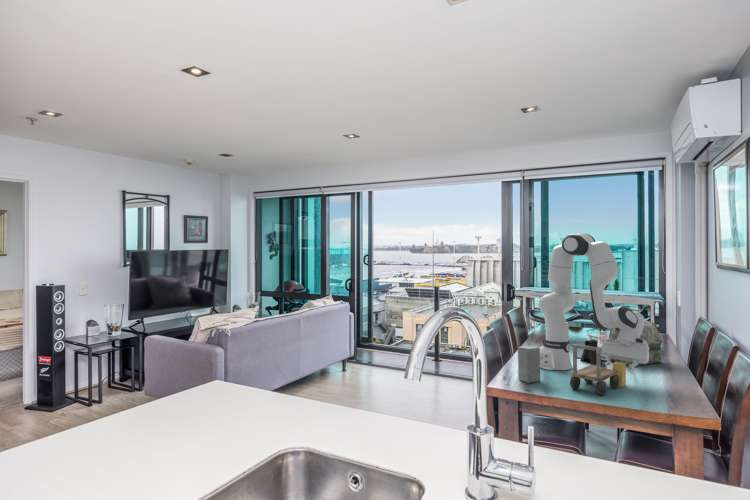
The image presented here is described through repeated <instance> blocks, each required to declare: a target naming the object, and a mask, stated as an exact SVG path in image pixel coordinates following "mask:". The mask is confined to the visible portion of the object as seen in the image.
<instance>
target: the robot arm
mask: <svg viewBox="0 0 750 500" xmlns="http://www.w3.org/2000/svg"><path fill="white" fill-rule="evenodd" d="M577 256H578V257H579V256H585V257H586V258H587V259H588V261H589V264H590V268H591V278H590V280H589V292H590V297H591V298H590V299H591V306H592V320H593V323H594V325H595V326H596V327H597V328H598V329H599V330H601V331H607V330H609V331H610V330H611V329H612V328H619V329H620V332H619V335H618V338H617V340H610V339H609V338H607V339H604V340H603V341H602V344H601V346H600V348H602V351H601V357H603V358H605V359H606V362H605V364H606V365H607V366H610V367H611V366H612V360H610V359H611V358H614V359H619V360H625V361H630V362H634V363H632V364H629V366H628V370H632V371H633V370H634V368H635V367H636V365H637V366H639V365H638V363H642V364H645V365H647V364H646V363H648V361H649V352H648V351H649V346H648V344H647V342H646V341H645V340H643V339H640V335H641V334H642V331H643V328H644V322H645V317H644V316H643V314H642V313H641V312H639V311H636V310H631V308H629V307H627V306H625V305H620V306H614V307H610V308H606V305H605V304H606V303H605V297H604V291H605V288H606V287H607V286H608V285H609V284H610V283H611V282H613V281H614V280H615V279H616V278H617V275H618V273H619V268H618V264H617V262H616V258H615V256H614V254H613V251H612V249H611V248H610V245H609V244H608V243H607V242H605V241H596V239H595V237H594V236H592V235H591V234H589V233H583V232H577V233H569V234H568V235H566V236H565V237H564V238H563V240H562V241H561V244H558V245H555V246H554V247H553V249H552V251H551V253H550V258H549V264H548V265H549V266H548V273H547V275H548V276H547V281H548V282H549V285H550V288H551V292H550V293H546V294H545V295H543V296H541V297H540V298H539V300H538V304H537V305H538V308H539V310H540V312H541V313H542V315H543V318H544V322H545V323H544V324H545V339H542V340H541V342H540V343H541V344H542V345H541V346H540V347H539V348H540V369H544V370H546V371H547V370H548V371H569V370H573V364H572V362H571V361H572V360H571V355H570V351H571V346H570V343H571V342H570V340H569V339H570V333H569V332H570V325H569V324H568V323H567V319H566V318H565V313H568V312H569V311H571V310H572V309H573V308H574V307H575V305H576V300H575V299H576V298H575V297H574V295H573V289H572V275H573V274H572V272H573V261H574V259H575V257H577Z"/></svg>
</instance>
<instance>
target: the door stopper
mask: <svg viewBox="0 0 750 500" xmlns="http://www.w3.org/2000/svg"><path fill="white" fill-rule="evenodd" d="M584 345H586V346H592V347H598V341H597V340H596V339H590V340H586V341H585V342H584ZM580 357H581V358H580V362H581V361H582V363H585V362H586V364H589V363H590V364H589V365H592V364H593V365H592V366H597V365H596V364H597V361H596V351H593V350H587V349H583V351H582V355H581V356H580ZM601 364H603V361H602V359H601Z"/></svg>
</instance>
